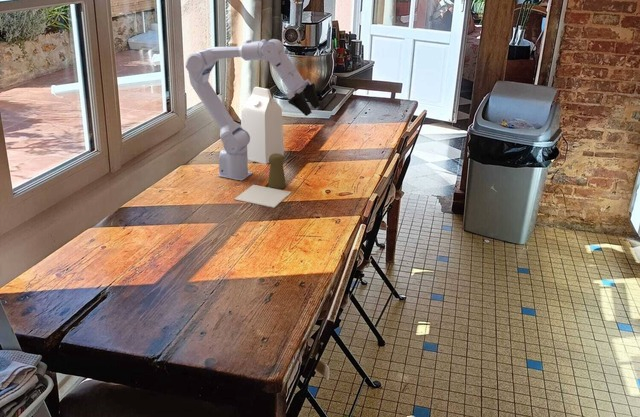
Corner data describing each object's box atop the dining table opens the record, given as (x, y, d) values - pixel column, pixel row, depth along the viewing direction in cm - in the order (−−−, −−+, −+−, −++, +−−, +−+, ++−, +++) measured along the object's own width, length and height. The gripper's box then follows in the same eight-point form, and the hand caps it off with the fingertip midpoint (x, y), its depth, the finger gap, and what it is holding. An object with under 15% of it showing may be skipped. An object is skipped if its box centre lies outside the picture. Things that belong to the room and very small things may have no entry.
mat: (234, 199, 196) (234, 198, 195) (253, 185, 207) (253, 184, 206) (274, 207, 191) (274, 207, 191) (291, 192, 202) (291, 191, 202)
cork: (283, 189, 204) (283, 158, 199) (265, 187, 205) (265, 156, 200) (287, 183, 209) (287, 152, 205) (270, 181, 210) (270, 150, 206)
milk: (284, 155, 234) (284, 87, 223) (265, 164, 225) (265, 94, 214) (258, 149, 240) (258, 82, 229) (239, 157, 231) (238, 88, 220)
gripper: (289, 73, 186) (314, 111, 188) (307, 62, 198) (330, 97, 200) (272, 85, 190) (297, 122, 192) (291, 73, 202) (314, 108, 204)
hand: (313, 110), depth 196 cm, fingers open, 7 cm apart
